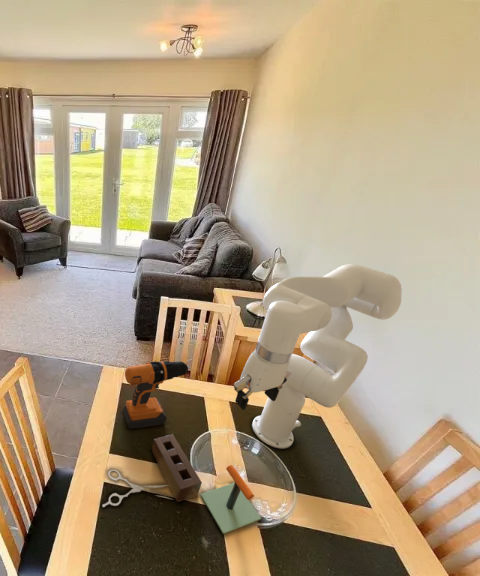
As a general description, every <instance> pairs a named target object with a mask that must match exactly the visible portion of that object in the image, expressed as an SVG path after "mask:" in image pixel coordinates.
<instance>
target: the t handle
mask: <svg viewBox="0 0 480 576" xmlns="http://www.w3.org/2000/svg"><path fill="white" fill-rule="evenodd" d="M226 471H227V473H228V474H229V476H230V477H231V479H232V480H233V481H234V482H233V483H234V486H233V488H232V491H231V494H230V496H229V499H228V501H227V504H226V506H227V508H228V509H230V510H232V509H233V507H234V505H235V503H236V500H237V498H238V495H239V493H240V491H242V493H243V494H244V496H245V497H246V499H247V500H249V501H250V500H252V499H254V497H255V494H254V493H253V491H252V490H251V488H250V487H249V485H248V484H247V483H246V482H245V481H244V479H243V478H242V476H241V475H240V473H239V472H238V470H236V468H235V466H233V464H229V465H228V466H227V467H226Z"/></svg>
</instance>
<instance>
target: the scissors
mask: <svg viewBox="0 0 480 576" xmlns="http://www.w3.org/2000/svg"><path fill="white" fill-rule="evenodd" d="M111 472H116V473H117V475H118V476H117V477H116V478H115V477H112V475H111ZM107 473H108V474H107V475H108V477H109V478H110V480H112V481H115V482H117V481H118V480H121V481H124V482H125V483H127V484H128V485H129V486H130V487H131V488H132V489H130V490H129V491H128V492H127V493H125V494H123V495H122V494H121V495H120V494H118V493H117V492H114V493H112V494H111V495H109V497H108V501H107V502H105V503H103V504H102V508H105V507H106V506H108V505H110V506H114V507H117V506H119V505H120V504H121V503H122V500H123V499H124V498H128V496H129V495H130V494H135V493H140V492H141V491H143V490H146V488H155V489H159V488H165V487H169V485H168V484H161V485H160V484H159V485H158V484H157V485H142V486H141V485H138V484H135V483H132V482H130V481H128V479H126V478H123V476H122V475H121V473H120V472H119V471H118V470H117V469H110V470H109V471H108V472H107ZM154 496H156V497H157V495H154ZM113 497H117V498H118V499H119V500H118V502H117V503H114V502H112V500H111V498H113ZM159 498H164V499H168V500H175V499H173V498H170V497H168V496H164V495H159Z"/></svg>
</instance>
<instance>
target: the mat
mask: <svg viewBox="0 0 480 576" xmlns="http://www.w3.org/2000/svg"><path fill="white" fill-rule="evenodd" d="M234 483H235V482H232V483H228V484H226V485H222V486H220V487H217V488H214V489H211V490H208V491H205V492H203V493H200V497H201V499H202V500H203V502H204V504H205V506H206V507H207V509H208V511H209V513H210V514H211V516H212V518H213V520H214V521H215V523H216V524H217V526H218V528H219V530H220V531H221V533H222V535H225V534H227V533H230V532H233V531H235V530H237V529H240V528H242V527H246V526H248V525H250V524H253V523H256V522H258V521H260V520H262V517H261V515H260V514H259V513H258V511H257V509H255V507H254V505H253V504H252V502H251V501H250V500H247V499H246V497H245V496H244V494H243V493H242V491H240V493H239V495H238V498H237V500H236V503H235V505H234V507H233V509H232V510H230V509H228V508H227V506H226V504H227V501H228V499H229V496H230V494H231V491H232V488H233V486H234Z"/></svg>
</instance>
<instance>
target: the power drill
mask: <svg viewBox="0 0 480 576" xmlns="http://www.w3.org/2000/svg"><path fill="white" fill-rule="evenodd" d="M190 368H191V366H188V365H187V363H185V362H184V361H170V360H165V361H156V360H155V361H154V360H153V361H147V362H145V364H139V365H129V366H127V367H126V368H125V370H124V378H125V380H126V383H127V384H129V385H130V386H132V387H135V386H136V387H135V388H134V391H133V394H132V399H129V400H126V401H125V406H123V409H122V413H123V415H124V419H125V421H126V424H127V427H128V428H129V429H138V428H146V427H147V428H148V427H154V426H160V425H163V423H165V422H166V421H167V415H166V414H165V411H164V409H163V406H162V404H161V402H160V401H159V399H158V398H157V397H155V396H154V397H151V393H152V392H155V391H157V390H158V389H159V388H160V387H159V385H160V384H164V382H165V381H170V380H173V379H174V378H178V377H183V376H185V375H186V374H187V373H188V371H189V369H190Z"/></svg>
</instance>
